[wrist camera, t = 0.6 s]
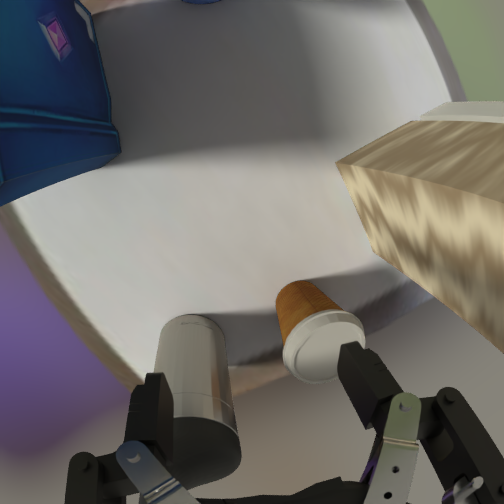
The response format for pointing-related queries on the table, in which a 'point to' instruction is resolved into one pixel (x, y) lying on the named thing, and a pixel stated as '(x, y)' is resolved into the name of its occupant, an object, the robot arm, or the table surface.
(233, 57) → the table surface
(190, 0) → the water bottle
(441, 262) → the birch rack
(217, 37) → the table surface
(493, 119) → the grey rectangular block
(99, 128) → the book
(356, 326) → the disposable coffee cup
